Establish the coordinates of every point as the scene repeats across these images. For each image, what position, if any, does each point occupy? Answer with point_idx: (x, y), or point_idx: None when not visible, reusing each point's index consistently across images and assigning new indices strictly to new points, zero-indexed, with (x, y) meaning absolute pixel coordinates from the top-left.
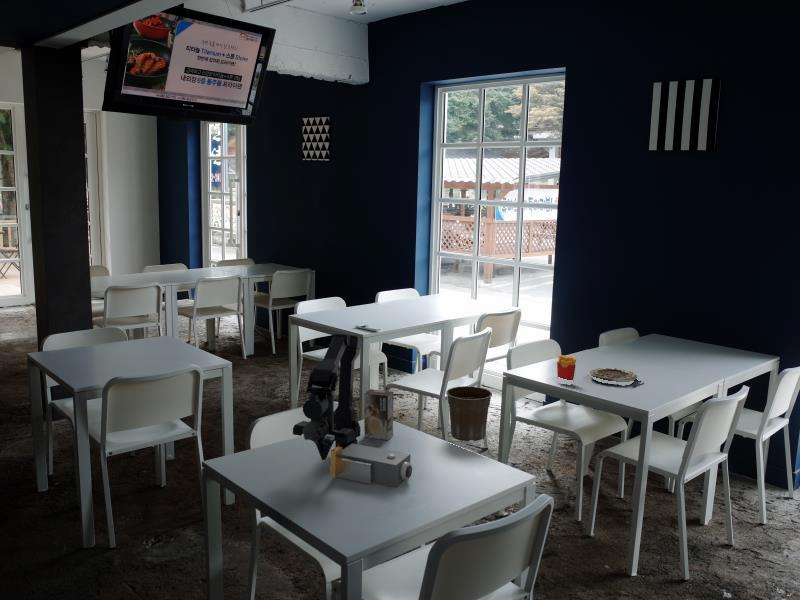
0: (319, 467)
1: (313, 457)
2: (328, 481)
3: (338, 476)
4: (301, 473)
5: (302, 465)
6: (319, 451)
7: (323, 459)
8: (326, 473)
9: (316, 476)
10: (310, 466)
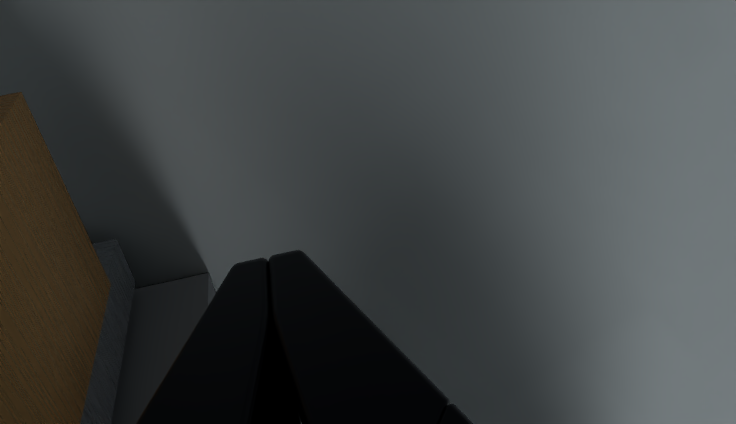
0: (532, 297)
1: (705, 397)
2: (133, 78)
3: (106, 248)
4: (634, 47)
5: (727, 222)
6: (377, 372)
7: (245, 266)
8: (357, 242)
9: (401, 100)
10: (634, 257)
